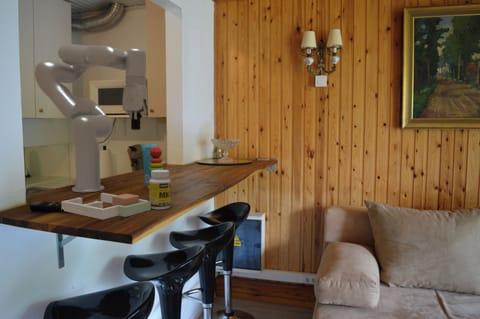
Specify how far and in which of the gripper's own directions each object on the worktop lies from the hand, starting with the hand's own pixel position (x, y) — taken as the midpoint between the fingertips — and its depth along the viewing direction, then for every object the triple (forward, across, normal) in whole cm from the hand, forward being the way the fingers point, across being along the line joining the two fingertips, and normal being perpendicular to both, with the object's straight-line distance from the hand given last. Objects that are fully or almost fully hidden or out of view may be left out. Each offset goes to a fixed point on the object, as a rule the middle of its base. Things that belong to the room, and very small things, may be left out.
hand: (135, 129), depth 142 cm
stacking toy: (+26, -3, +14) cm, 30 cm away
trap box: (+26, +11, -22) cm, 36 cm away
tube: (+27, -13, +20) cm, 36 cm away
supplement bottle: (+26, +22, -9) cm, 35 cm away
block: (+26, +17, -19) cm, 36 cm away
